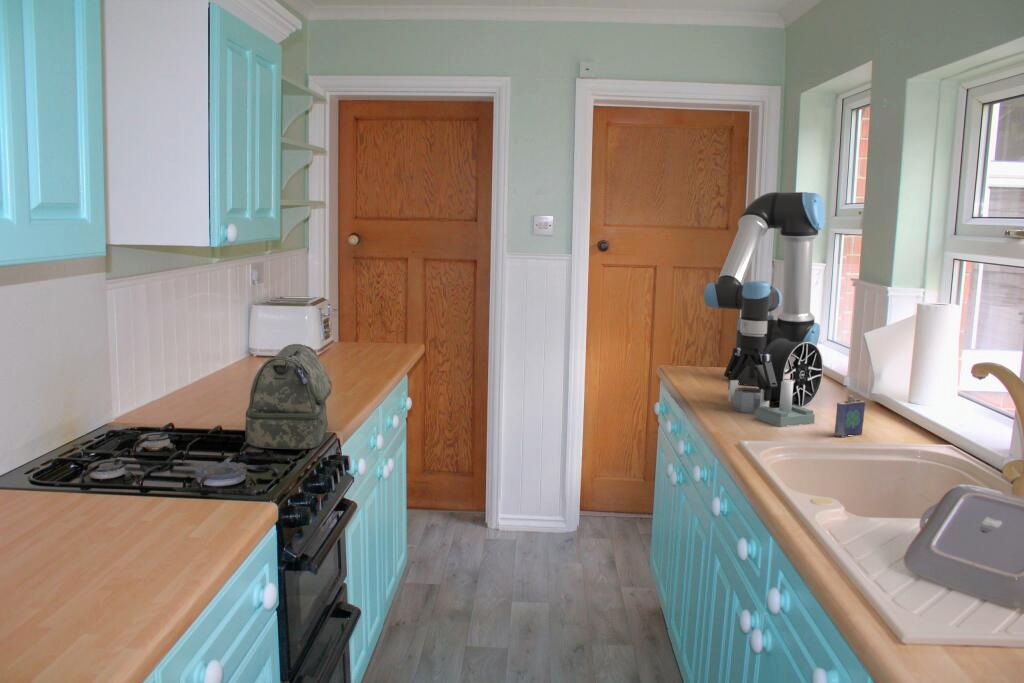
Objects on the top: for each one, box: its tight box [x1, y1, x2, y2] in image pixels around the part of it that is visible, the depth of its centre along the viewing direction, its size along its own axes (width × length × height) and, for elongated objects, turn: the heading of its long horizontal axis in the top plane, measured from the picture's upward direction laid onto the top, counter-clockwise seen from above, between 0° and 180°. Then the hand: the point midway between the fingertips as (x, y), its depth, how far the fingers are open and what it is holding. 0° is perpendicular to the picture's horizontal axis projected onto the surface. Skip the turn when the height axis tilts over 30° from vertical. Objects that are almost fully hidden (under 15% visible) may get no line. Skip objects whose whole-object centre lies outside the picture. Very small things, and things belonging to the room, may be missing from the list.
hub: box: [733, 386, 761, 415], centre depth 247 cm, size 8×8×6 cm
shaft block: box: [754, 381, 816, 427], centre depth 235 cm, size 12×10×11 cm
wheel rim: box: [757, 338, 824, 408], centre depth 255 cm, size 20×9×20 cm, turn 127°
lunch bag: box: [245, 343, 333, 450], centre depth 203 cm, size 26×18×22 cm
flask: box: [833, 394, 866, 437], centre depth 221 cm, size 9×3×11 cm, turn 117°
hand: (747, 406), depth 247 cm, fingers open, 13 cm apart
